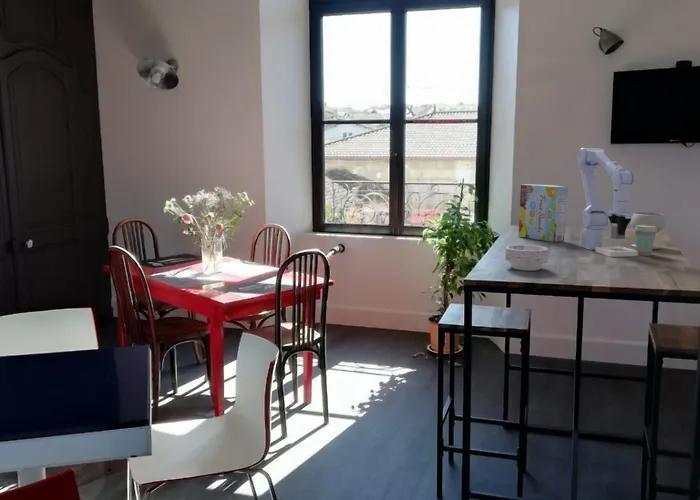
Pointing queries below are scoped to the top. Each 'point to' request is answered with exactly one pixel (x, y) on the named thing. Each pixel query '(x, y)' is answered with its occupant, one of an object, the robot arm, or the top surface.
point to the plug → (616, 232)
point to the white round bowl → (526, 257)
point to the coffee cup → (645, 239)
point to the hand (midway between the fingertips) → (618, 234)
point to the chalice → (648, 222)
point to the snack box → (542, 212)
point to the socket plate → (616, 251)
